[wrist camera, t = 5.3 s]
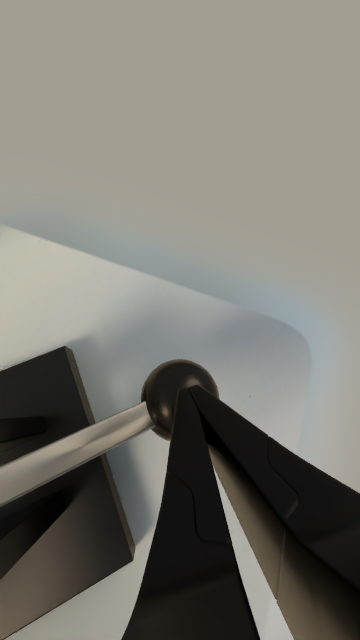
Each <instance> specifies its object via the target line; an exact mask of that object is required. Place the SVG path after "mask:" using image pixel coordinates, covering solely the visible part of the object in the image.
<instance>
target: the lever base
mask: <svg viewBox="0 0 360 640" xmlns="http://www.w3.org/2000/svg"><path fill="white" fill-rule="evenodd" d="M93 424H95V420H94V417H93V414H92V411H91V408H90V405H89V402H88V399H87V396H86V392H85V389H84V386H83V383H82V380H81V377H80V374H79V371H78V368H77V365H76V361H75V358H74V355H73V352H72V350H71V349H69V348H68V347H66V346H64V347H61V348H59V349H56V350H53V351H51V352H48V353H46V354H43V355H41V356H38V357H36V358H33V359H31V360H28V361H26V362H23V363H20V364H18V365H15V366H13V367H10V368H8V369H5V370H3V371H0V466H2V465H4V464H7V463H9V462H11V461H13V460H15V459H18V458H20V457H22V456H24V455H26V454H29V453H31V452H33V451H35V450H37V449H40V448H42V447H44V446H46V445H48V444H51V443H53V442H55V441H57V440H59V439H62V438H64V437H66V436H68V435H71V434H73V433H75V432H77V431H79V430H82V429H84V428H86V427H88V426H90V425H93ZM134 553H135V544H134V541H133V538H132V535H131V532H130V529H129V526H128V522H127V519H126V516H125V513H124V510H123V507H122V504H121V501H120V498H119V495H118V492H117V488H116V485H115V482H114V479H113V476H112V473H111V470H110V467H109V464H108V461H107V457H106V454H105V453H103V454H102V455H100V456H98V457H96V458H94V459H92V460H90V461H88V462H86V463H84V464H82V465H80V466H79V467H77V468H75V469H73V470H71V471H69V472H67V473H65V474H63V475H61V476H59V477H57V478H55V479H54V480H52V481H50V482H48V483H46V484H44V485H42V486H40V487H38V488H36V489H34V490H32V491H31V492H29V493H27V494H25V495H23V496H21V497H19V498H17V499H15V500H13V501H11V502H9V503H8V504H6V505H4V506H2V507H0V640H4V639H6V638H7V637H9V636H10V635H12V634H14V633H15V632H17V631H19V630H20V629H22V628H24V627H25V626H27V625H28V624H30V623H32V622H33V621H35V620H37V619H38V618H40V617H42V616H43V615H45V614H46V613H48V612H50V611H51V610H53V609H55V608H56V607H58V606H60V605H61V604H63V603H65V602H66V601H68V600H69V599H71V598H73V597H74V596H76V595H78V594H79V593H81V592H83V591H84V590H86V589H87V588H89V587H91V586H92V585H94V584H96V583H97V582H99V581H101V580H102V579H104V578H105V577H107V576H109V575H110V574H112V573H114V572H115V571H117V570H119V569H120V568H122V567H123V566H125V565H127V564H128V563H130V562H132V561H133V558H134Z"/></svg>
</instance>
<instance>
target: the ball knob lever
mask: <svg viewBox="0 0 360 640" xmlns="http://www.w3.org/2000/svg"><path fill="white" fill-rule="evenodd" d="M195 384H199V385H200V386H201V387H203V388H204V389H206V390H207V391H208V392H210V393H211V394H212V395H214V396H215V397H216V398H218V399H219V392H218V388H217V385H216V383H215V381H214V379H213V377H212V376H211V375H210V373H209V372H208V371H207V370H206V369H205V368H203V367H202V366H200V365H199V364H197V363H195V362H192V361H189V360H182V359H178V360H171V361H168V362H165V363H163V364H161V365H160V366H158V367H157V368H155V369H154V370H153V371H152V372H151V373H150V375H149V376H148V378H147V379H146V381H145V383H144V385H143V388H142V392H141V403H139V404H137V405H134V406H132V407H130V408H128V409H126V410H123V411H121V412H119V413H117V414H115V415H112V416H110V417H108V418H106V419H104V420H101V421H99V422H97V423H95V424H93V425H90V426H88V427H86V428H84V429H82V430H79V431H77V432H75V433H73V434H71V435H68V436H66V437H64V438H62V439H59V440H57V441H55V442H53V443H51V444H48V445H46V446H44V447H42V448H40V449H37V450H35V451H33V452H31V453H29V454H26V455H24V456H22V457H20V458H18V459H15V460H13V461H11V462H9V463H7V464H4V465H2V466H0V507H2V506H4V505H6V504H8V503H9V502H11V501H13V500H15V499H17V498H19V497H21V496H23V495H25V494H27V493H29V492H31V491H32V490H34V489H36V488H38V487H40V486H42V485H44V484H46V483H48V482H50V481H52V480H54V479H55V478H57V477H59V476H61V475H63V474H65V473H67V472H69V471H71V470H73V469H75V468H77V467H79V466H80V465H82V464H84V463H86V462H88V461H90V460H92V459H94V458H96V457H98V456H100V455H102V454H103V453H105V452H107V451H109V450H111V449H113V448H115V447H117V446H119V445H121V444H123V443H125V442H126V441H128V440H130V439H132V438H134V437H136V436H138V435H140V434H142V433H144V432H146V431H148V430H149V429H151V430H152V431H153V432H155V433H156V434H157V435H158V436H160V437H161V438H163V439H165V440H168V441H171V433H172V426H173V418H174V411H175V403H176V396H177V390H178V389H181V388H185V387H187V388H188V387H189V386H192V385H195Z"/></svg>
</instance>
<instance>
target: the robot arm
mask: <svg viewBox="0 0 360 640" xmlns="http://www.w3.org/2000/svg"><path fill="white" fill-rule="evenodd" d="M212 464H213V465H212ZM213 466H214V468H215V471H216V473H217V475H218V477H219V479H220V481H221V483H222V486H223V488H224V490H225V492H226V494H227V496H228V498H229V501H230V503H231V505H232V507H233V509H234V511H235V514H236V516H237V518H238V520H239V522H240V524H241V526H242V529H243V531H244V533H245V535H246V537H247V539H248V541H249V544H250V546H251V548H252V550H253V552H254V554H255V556H256V559H257V561H258V563H259V565H260V567H261V569H262V571H263V574H264V576H265V578H266V580H267V582H268V584H269V586H270V589H271V591H272V593H273V595H274V597H275V599H276V600H277V604H278V606H279V608H280V610H281V612H282V614H283V617H284V619H285V621H286V623H287V625H288V627H289V629H290V631H291V634H292V636H293V638H294V640H360V493H358V492H356V491H355V490H353V489H351V488H350V487H348V486H346V485H345V484H342V483H341V482H340V481H338V480H336V479H335V478H333V477H331V476H330V475H328V474H326V473H325V472H323V471H321V470H320V469H318V468H316V467H315V466H313V465H311V464H310V463H308V462H306V461H305V460H303V459H301V458H300V457H299V456H297V455H295V454H294V453H292V452H291V451H289V450H288V449H287V448H285V447H284V446H282V445H281V444H279V443H278V442H277V441H275V440H274V439H273V438H271V437H268V435H267V434H266V433H264V432H263V431H262V430H260V429H259V428H257V427H256V426H255V425H253V424H252V423H251V422H249V421H248V420H246V419H245V418H244V417H242V416H241V415H240V414H238V413H237V412H236V411H234V410H233V409H231V408H230V407H229V406H227V405H226V404H225V403H223V402H222V401H221V400H219V399H218V398H216V397H215V396H214V395H212V394H211V393H210V392H208V391H207V390H206V389H204V388H203V387H201V386H200V385H199V384H195V385H192V386H189V387H188V388H187V387H185V388H181V389H178V390H177V396H176V403H175V411H174V418H173V426H172V433H171V441H170V448H169V456H168V463H167V472H166V477H165V484H164V490H163V497H162V503H161V507H160V512H159V516H158V520H157V525H156V529H155V533H154V537H153V541H152V544H151V548H150V552H149V556H148V560H147V564H146V568H145V572H144V576H143V580H142V583H141V587H140V591H139V594H138V597H137V601H136V604H135V607H134V610H133V613H132V616H131V618H130V621H129V624H128V626H127V628H126V630H125V633H124V635H123V637H122V639H121V640H260V637H259V634H258V631H257V627H256V624H255V621H254V618H253V615H252V611H251V608H250V605H249V602H248V598H247V595H246V592H245V589H244V586H243V582H242V579H241V575H240V572H239V568H238V564H237V561H236V557H235V553H234V549H233V546H232V541H231V537H230V533H229V529H228V525H227V521H226V517H225V513H224V509H223V505H222V501H221V497H220V493H219V489H218V485H217V481H216V477H215V473H214V469H213Z"/></svg>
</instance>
